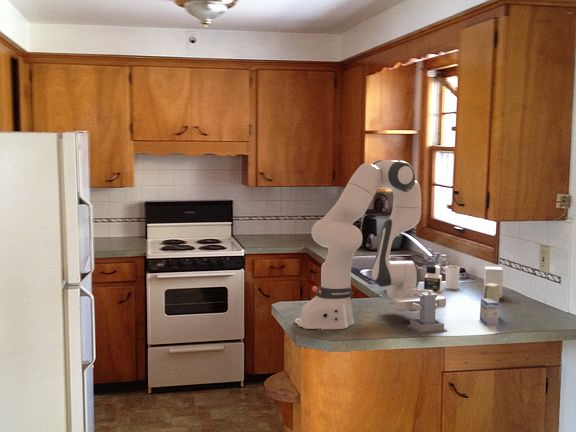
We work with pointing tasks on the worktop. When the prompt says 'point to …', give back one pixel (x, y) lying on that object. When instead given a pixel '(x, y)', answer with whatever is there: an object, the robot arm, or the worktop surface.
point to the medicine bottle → (433, 279)
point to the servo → (427, 307)
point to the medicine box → (489, 311)
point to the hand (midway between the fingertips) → (428, 307)
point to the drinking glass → (452, 277)
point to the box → (492, 292)
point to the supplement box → (494, 277)
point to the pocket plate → (426, 326)
